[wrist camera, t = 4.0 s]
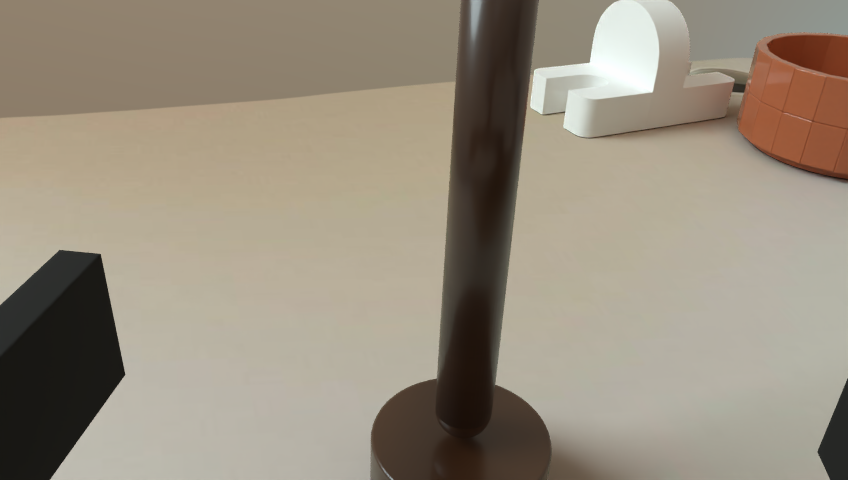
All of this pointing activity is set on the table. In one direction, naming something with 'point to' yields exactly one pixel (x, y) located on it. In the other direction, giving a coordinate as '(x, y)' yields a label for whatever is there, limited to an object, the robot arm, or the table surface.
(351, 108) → the table surface
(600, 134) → the slotted bracket
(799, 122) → the bowl
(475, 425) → the dark brown post
